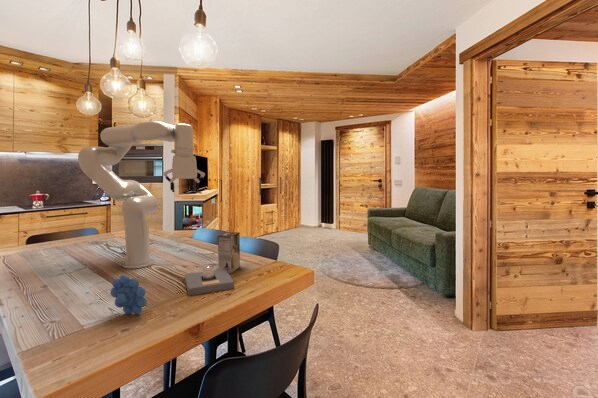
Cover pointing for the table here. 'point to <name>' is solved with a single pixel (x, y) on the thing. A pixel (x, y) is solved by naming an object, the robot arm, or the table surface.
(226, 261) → the coffee box
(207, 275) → the peg
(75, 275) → the table surface
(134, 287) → the grapes
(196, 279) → the hole board
